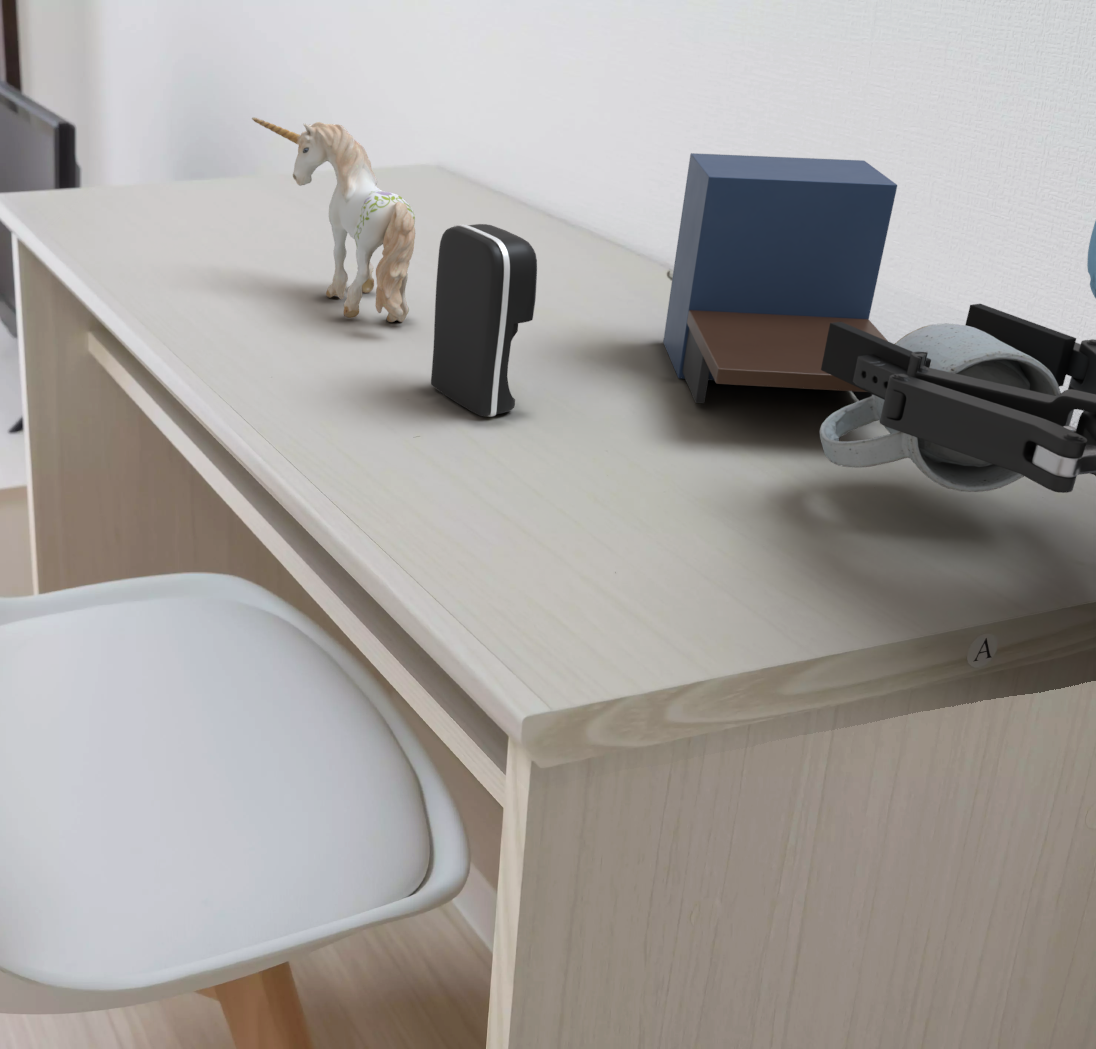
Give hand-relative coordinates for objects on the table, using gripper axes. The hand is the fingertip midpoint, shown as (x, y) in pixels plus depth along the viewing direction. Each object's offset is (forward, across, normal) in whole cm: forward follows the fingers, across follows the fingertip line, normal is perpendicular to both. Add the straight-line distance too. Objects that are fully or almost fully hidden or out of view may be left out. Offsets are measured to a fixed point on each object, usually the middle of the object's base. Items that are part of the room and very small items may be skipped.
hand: (901, 336), depth 76 cm
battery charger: (+19, -16, -9) cm, 26 cm away
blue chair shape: (+13, +4, -9) cm, 16 cm away
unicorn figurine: (+41, -18, -9) cm, 46 cm away
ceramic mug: (-4, -1, -6) cm, 8 cm away
